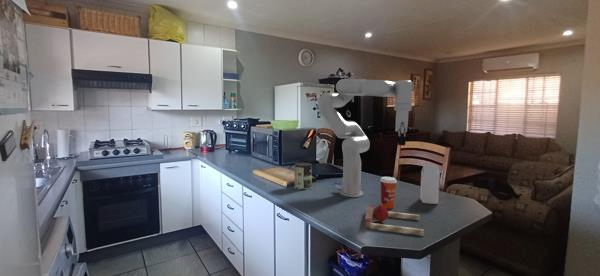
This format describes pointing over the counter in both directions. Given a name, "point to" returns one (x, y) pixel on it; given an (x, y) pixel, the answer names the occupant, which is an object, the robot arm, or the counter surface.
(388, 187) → the paper cup
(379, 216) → the red apple
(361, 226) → the counter surface
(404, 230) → the wooden u-shaped frame
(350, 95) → the robot arm
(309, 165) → the coffee can
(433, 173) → the milk carton
